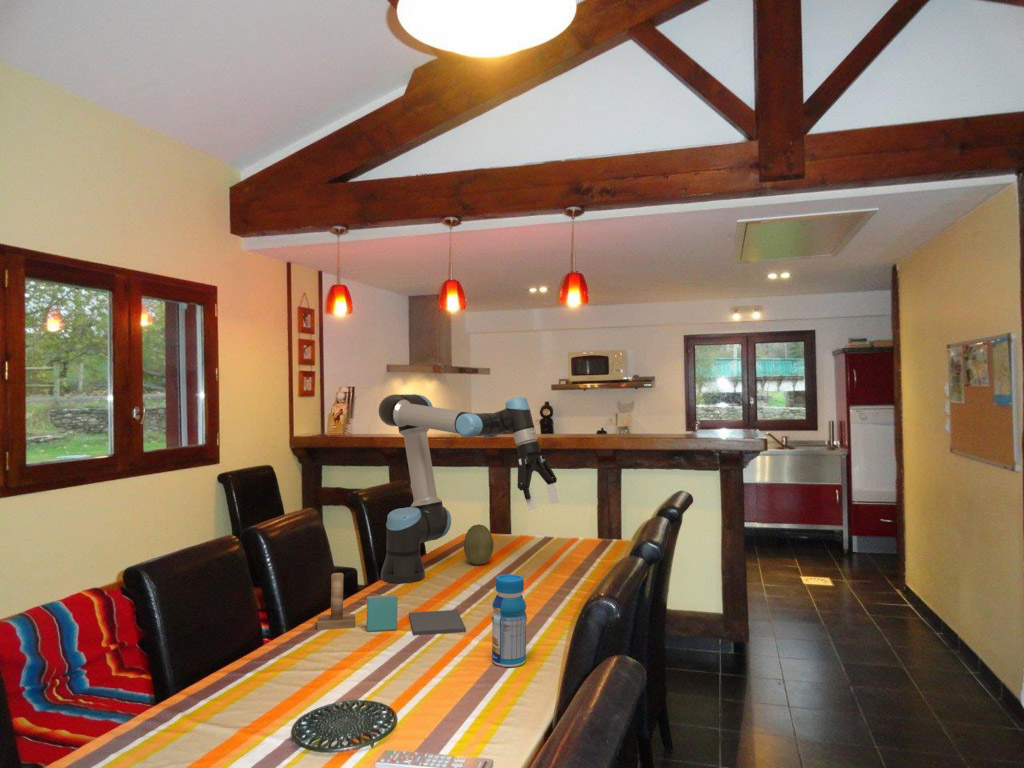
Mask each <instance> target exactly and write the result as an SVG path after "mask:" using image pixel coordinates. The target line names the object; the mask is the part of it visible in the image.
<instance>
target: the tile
mask: <svg viewBox="0 0 1024 768" xmlns="http://www.w3.org/2000/svg"><path fill="white" fill-rule="evenodd" d="M397 630H398V594H384V595H367V596H366V632H367V633H371V632H372V633H373V632H375V633H376V632H391V631H397Z"/></svg>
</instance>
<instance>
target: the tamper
mask: <svg viewBox="0 0 1024 768" xmlns="http://www.w3.org/2000/svg"><path fill="white" fill-rule="evenodd" d="M330 579H331V582H330V583H331V584H330V585H331V587H330V593H331V594H330V614H328V615H318V617H317V622H316V624H317V625H316V626H317V627H316V630H317V631H326V630H340V629H341V630H342V629H354V628H356V613H345V614H344V610H343V609H344V573H343V572H334V573H332V574H331V578H330Z"/></svg>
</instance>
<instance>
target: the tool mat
mask: <svg viewBox="0 0 1024 768" xmlns="http://www.w3.org/2000/svg"><path fill="white" fill-rule="evenodd" d="M408 618H409V622H410V626H411V632H412V636H423V635H425V636H426V635H427V636H428V635H438V634H453V633H456V634H457V633H466V632H467V631H466V630H467V628H466V626H465V623H464V622H463V619H462V617H461V614H460V613H459V610H458V609H450V610H432V611H431V610H429V611H415V612H413V611H412V612H408Z"/></svg>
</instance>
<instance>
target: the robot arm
mask: <svg viewBox="0 0 1024 768" xmlns="http://www.w3.org/2000/svg"><path fill="white" fill-rule="evenodd" d="M378 416H379V418H380V420H381V421H382V422H383V423H384V424H385V425H386V426H390V427H397V428H398V433H399V434H400V435H402V436H403V439H404V446H405V452H406V459H407V464H408V465H407V466H408V471H409V473H408V474H409V479H410V485H411V490H412V497H413V502H412V504H411V505H410V507H403V508H402V507H401V508H396V509H393V510H392V511H390V512H389V513H388V514H387V517H386V518H387V519H386V523H385V525H386V546H385V547H386V549H385V550H386V556H385V558H384V561H383V564H382V568H381V570H380V571H381V572H380V579H381V580H382V581H384V582H388V583H395V584H404V583H405V584H407V583H413V582H418V581H422V580H424V579H425V577H426V569H425V566H424V562H423V560H422V556H421V544H423V543H427V542H430V541H436V540H438V539H440V538H443V537H445V536H446V535H447V534H448V533H449V531H450V530H451V526H452V516H451V515H452V514H451V512H450V511H449V510H448V508H447V507H445V506H443V500H442V499H441V498H440V497H438V495H437V489H436V483H435V475H434V469H433V463H432V457H431V451H430V446H429V445H430V444H429V437H428V431H429V430H435V431H442V432H447V433H453V434H457V435H460V436H462V437H464V438H474V437H484V438H486V439H489V438H495V437H497V436H500V435H501V434H504V433H507V432H510V431H512V435H513V439H514V443H515V445H516V446H517V447H516V450H517V453H518V457H519V459H517V460H516V463H517V489H519V491H523V495H524V498H525V502H526V506H527V509H528V511H531V510H534V509H538V508H537V504H536V500H535V496H534V493H533V490H532V488H530V485H531V480H532V475H533V472H537V473H538V474H539V476H540V477H541V479H543V481H544V482H545V483H546V485H545V486H546V490H547V494H548V497H549V501H550V505H555V504H557V503H558V504H559V502H560V501H559V498H558V494H557V490H556V487H555V484H556V483H557V481H558V478H557V476H556V475H555V473H554V471H553V469H552V467H551V466H550V464H549V462H548V461H547V458H546V457H547V456H546V455H545V454H543V455H540V453H541V451H542V448H541V446H540V445H541V444H540V442H539V441H537V440H538V439H539V438H538V435H537V431H536V429H535V425H534V424H535V423H534V420H533V416H532V413H531V407H530V406H529V402H528V400H527V398H526V397H524V396H519V397H515V398H511V399H509V400H506V401H505V408H504V409H501V410H499V411H496V412H486V413H485V412H483V413H480V412H479V413H478V412H477V413H476V412H475V413H473V412H467V411H462V410H455V409H447V408H443V407H442V408H441V407H435V406H433V403H432V402H431V400H430V399H429V398H427V397H426V396H424V395H421V394H416V393H415V394H414V393H413V394H391V395H387V396H386V397H385V398H382V400H381V402H380V403H379V406H378Z"/></svg>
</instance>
